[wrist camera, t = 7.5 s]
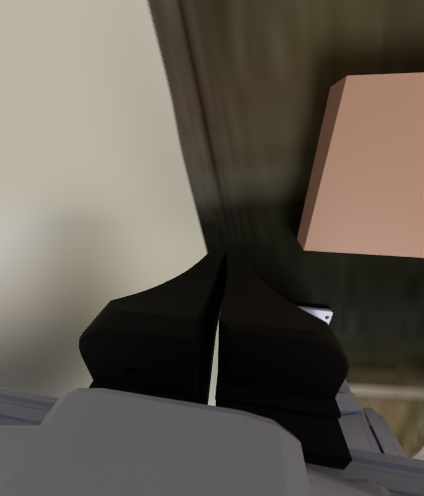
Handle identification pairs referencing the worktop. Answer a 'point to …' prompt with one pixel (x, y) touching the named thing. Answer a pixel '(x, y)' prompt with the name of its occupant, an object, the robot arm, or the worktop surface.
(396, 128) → the book
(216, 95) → the worktop surface
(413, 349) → the worktop surface
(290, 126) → the worktop surface
